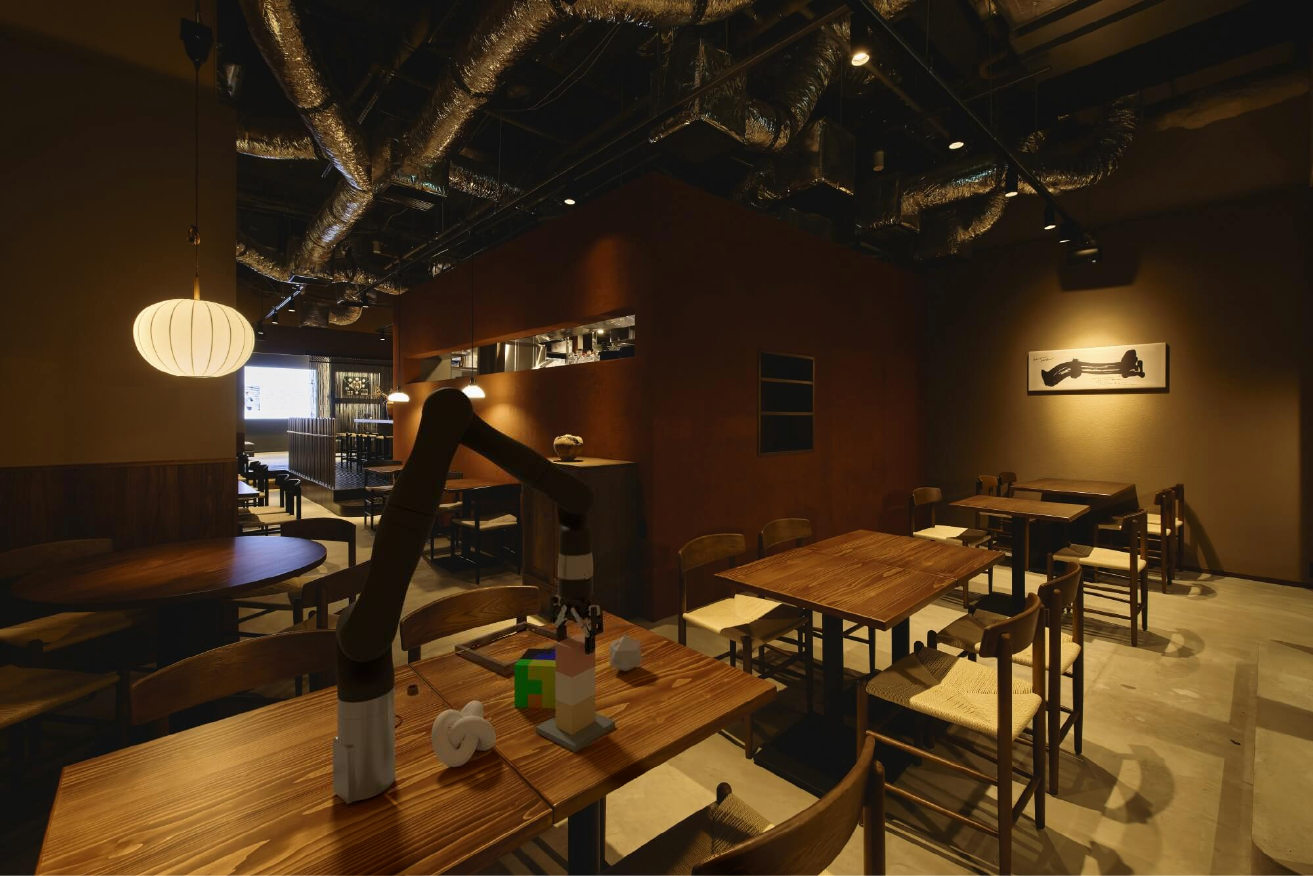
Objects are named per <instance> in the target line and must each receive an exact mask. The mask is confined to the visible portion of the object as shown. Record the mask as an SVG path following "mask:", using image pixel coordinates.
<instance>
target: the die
mask: <svg viewBox="0 0 1313 876" xmlns="http://www.w3.org/2000/svg"><path fill="white" fill-rule="evenodd" d="M642 664H643V657H642V642H640V641H638V640H637V639H634V638H632V637H630V636H628V635H626V634H625V635H623V636H622V637H620V638H618V639H616V640H615V641H613V642H611V643H610V644H609V666H611V667H614V668H616V669H618V670H619V671H622V672H626V671H627V672H629V671H631V670H633V669H634V668H636V667H638V666H640V665H642Z"/></svg>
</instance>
